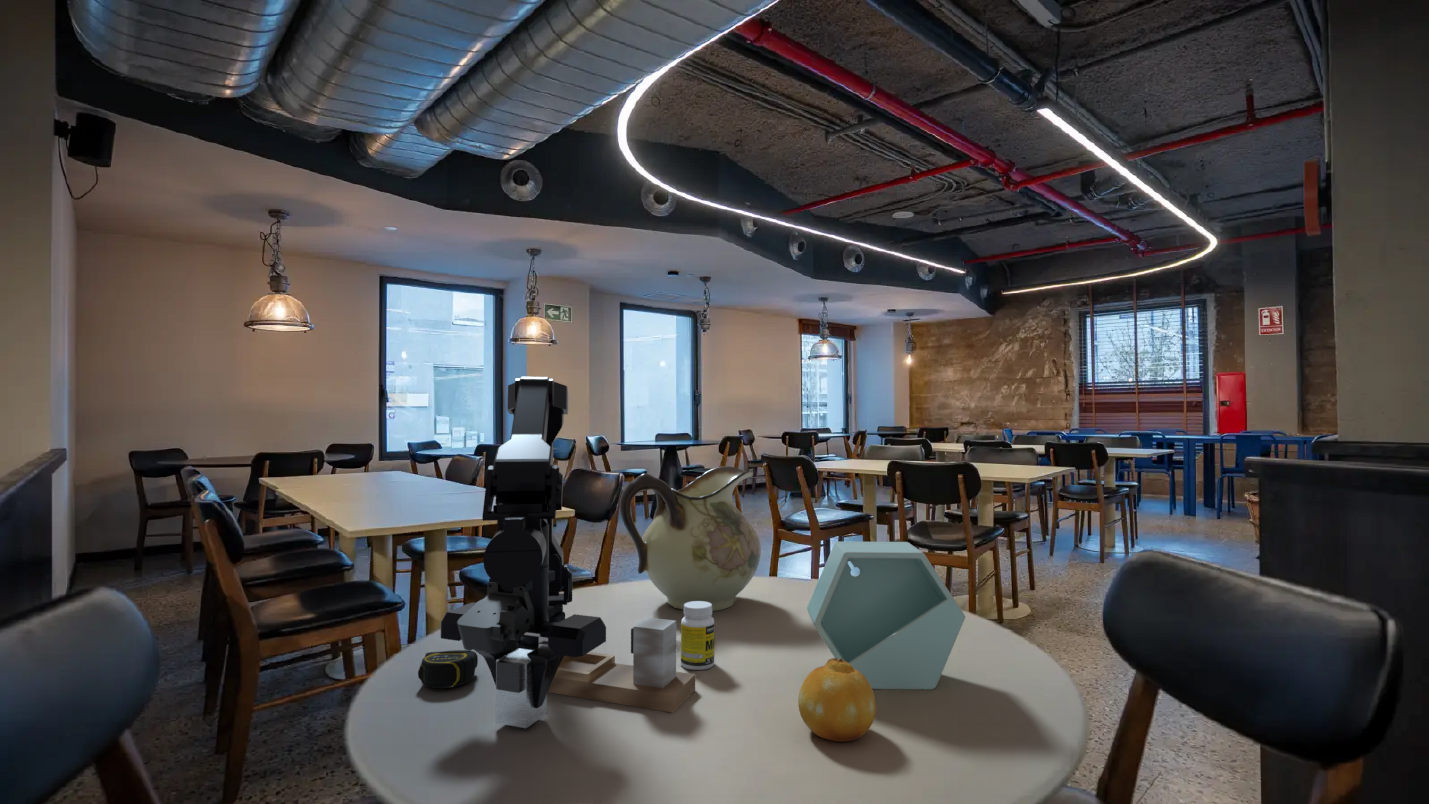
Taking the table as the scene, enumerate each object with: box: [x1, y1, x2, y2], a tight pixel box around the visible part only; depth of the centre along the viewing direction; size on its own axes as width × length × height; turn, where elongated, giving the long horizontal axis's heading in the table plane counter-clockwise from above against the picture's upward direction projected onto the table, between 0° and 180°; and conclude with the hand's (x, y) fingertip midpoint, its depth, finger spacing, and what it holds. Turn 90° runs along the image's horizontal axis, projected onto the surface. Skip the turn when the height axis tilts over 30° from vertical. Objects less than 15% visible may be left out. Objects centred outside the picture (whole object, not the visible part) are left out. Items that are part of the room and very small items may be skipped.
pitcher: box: [619, 465, 762, 612], centre depth 127 cm, size 22×24×25 cm
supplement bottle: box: [680, 601, 715, 671], centre depth 96 cm, size 5×5×8 cm
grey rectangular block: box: [495, 647, 548, 729], centre depth 77 cm, size 4×5×7 cm
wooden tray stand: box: [548, 617, 696, 713], centre depth 87 cm, size 20×7×9 cm, turn 70°
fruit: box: [797, 657, 877, 742], centre depth 75 cm, size 8×8×8 cm
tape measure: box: [417, 649, 479, 689], centre depth 89 cm, size 7×7×4 cm
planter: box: [806, 541, 966, 691], centre depth 91 cm, size 17×8×21 cm
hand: (521, 704), depth 77 cm, fingers closed on grey rectangular block, 4 cm apart
